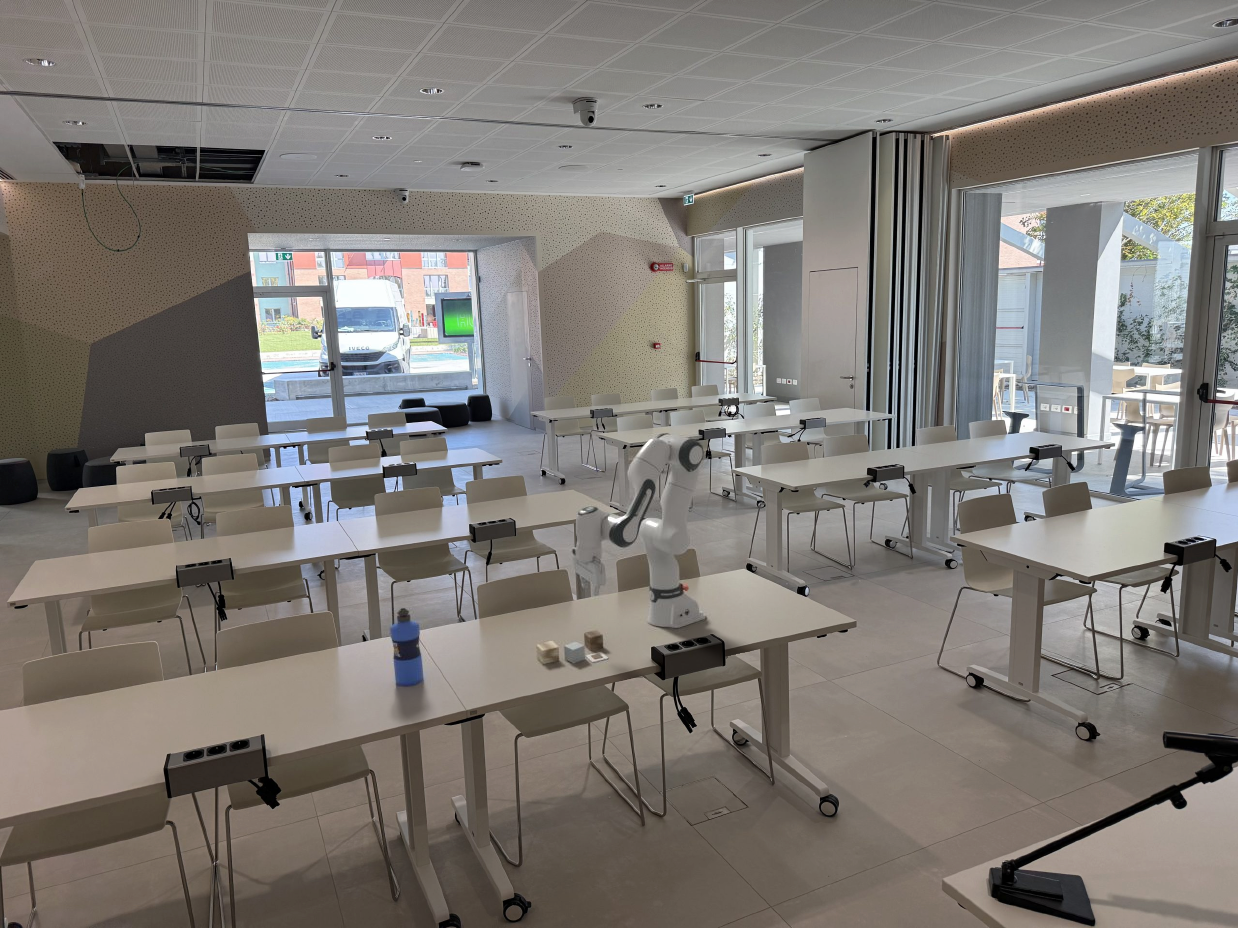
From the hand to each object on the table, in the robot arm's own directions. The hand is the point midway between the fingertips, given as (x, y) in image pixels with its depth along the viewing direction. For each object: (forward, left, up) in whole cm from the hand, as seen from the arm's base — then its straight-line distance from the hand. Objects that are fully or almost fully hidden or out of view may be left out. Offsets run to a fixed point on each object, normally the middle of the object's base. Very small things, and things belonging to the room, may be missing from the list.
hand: (590, 591), depth 299 cm
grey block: (+10, +6, -21) cm, 24 cm away
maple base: (+18, +1, -21) cm, 28 cm away
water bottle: (+64, -7, -21) cm, 68 cm away
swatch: (+3, +9, -21) cm, 23 cm away
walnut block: (0, 0, -21) cm, 21 cm away
